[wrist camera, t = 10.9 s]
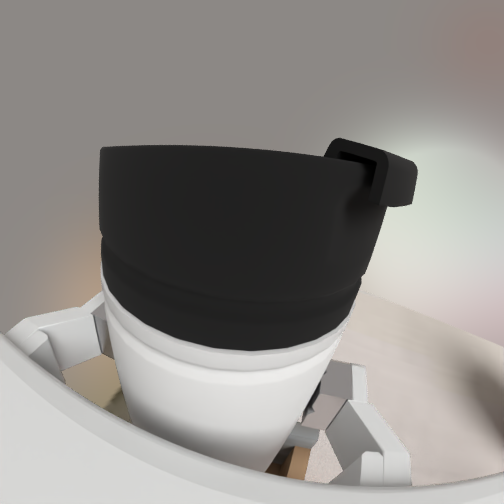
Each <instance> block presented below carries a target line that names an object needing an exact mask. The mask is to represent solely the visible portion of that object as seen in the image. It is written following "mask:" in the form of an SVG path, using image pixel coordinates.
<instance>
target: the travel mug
mask: <svg viewBox="0 0 504 504" xmlns="http://www.w3.org/2000/svg"><path fill="white" fill-rule="evenodd" d="M417 173H418V170H417V166H416V165H415V164H414V162H412V161H410V160H407V159H405V158H402V157H400V156H397V155H395V154H392V153H389V152H386V151H384V150H381V149H378V148H374V147H371V146H367V145H364V144H361V143H357V142H353V141H349V140H346V139H342V138H337V139H335V140H333V141H332V142H331V144H330V145H329V147H328V149H327V151H326V153H325V155H324V157H321V156H314V155H306V154H299V153H290V152H281V151H271V150H260V149H249V148H235V147H218V146H191V145H189V146H188V145H141V146H140V145H139V146H113V147H102V148H101V150H100V167H99V225H100V231H101V233H102V236H103V237H102V241H101V258H102V261H101V282H102V291H103V294H104V300H105V312H106V318H107V324H108V330H109V335H110V340H111V345H112V350H113V355H114V359H115V363H116V368H117V372H118V376H119V380H120V384H121V388H122V391H123V395H124V398H125V402H126V405H127V409H128V412H129V415H130V418H131V421H132V424H133V425H135V426H137V427H139V428H141V429H143V430H145V431H147V432H149V433H151V434H153V435H155V436H158V437H160V438H162V439H164V440H167V441H169V442H171V443H174V444H176V445H179V446H181V447H184V448H186V449H189V450H192V451H194V452H197V453H200V454H203V455H205V456H208V457H211V458H214V459H217V460H220V461H224V462H227V463H230V464H233V465H237V466H240V467H244V468H248V469H252V470H256V471H260V472H264V473H265V471H266V470H267V468H268V467H269V465H270V464H271V462H272V461H273V459H274V458H275V456H276V455H277V453H278V452H279V450H280V449H281V447H282V446H283V444H284V442H285V441H286V439H287V438H288V436H289V434H290V433H291V431H292V429H293V428H294V426H295V424H296V423H297V421H298V419H299V418H300V416H301V414H302V413H303V411H304V409H305V407H306V405H307V404H308V402H309V400H310V398H311V396H312V395H313V393H314V391H315V389H316V387H317V385H318V383H319V382H320V380H321V378H322V376H323V374H324V372H325V370H326V368H327V366H328V364H329V362H330V360H331V358H332V356H333V354H334V352H335V350H336V347H337V345H338V343H339V341H340V339H341V336H342V334H343V332H344V330H345V328H346V326H347V323H348V321H349V319H350V317H351V314H352V312H353V309H354V307H355V298H356V296H357V293H358V291H359V288H360V285H361V277H362V276H363V275H364V274H365V272H366V269H367V267H368V264H369V262H370V259H371V256H372V253H373V250H374V247H375V244H376V241H377V238H378V235H379V232H380V229H381V225H382V222H383V219H384V216H385V212H386V209H387V206H389V207H399V206H406V205H410V204H412V201H413V196H414V191H415V185H416V180H417Z"/></svg>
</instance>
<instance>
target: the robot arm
mask: <svg viewBox="0 0 504 504" xmlns="http://www.w3.org/2000/svg"><path fill="white" fill-rule="evenodd" d="M101 353H102V354H104V355H106V356H108V357H110V358H112V359H114V355H113V350H112V345H111V340H110V335H109V330H108V324H107V318H106V312H105V300H104V294H103V291H101V292H100V293H98V294H97V295H96V296H94V297H93V298H92V299H91V300H89V301H88V302H87V303H86V304H84V305H83V306H82V307H81V308H78V307H73V308H69V309H65V310H60V311H55V312H51V313H46V314H42V315H37V316H32V317H27V318H24V319H23V320H22V321H21V322H19V323H18V324H17V325H16V326H14V327H13V328H12V329H11V330H9V331H8V332H7V333H6V334H4V335H3V334H2V333H1V332H0V504H504V472H501V473H497V474H493V475H489V476H484V477H480V478H475V479H469V480H464V481H458V482H451V483H444V484H435V485H424V486H412V480H411V463H410V453H409V451H408V450H407V449H406V447H405V446H404V445H403V443H402V442H401V441H400V439H399V438H398V437H397V435H396V434H395V433H394V431H393V430H392V429H391V427H390V426H389V425H388V423H387V422H386V421H385V420H384V418H383V417H382V416H381V414H380V413H379V412H378V410H377V409H376V408H375V406H374V405H373V404H372V403H368V389H367V376H366V367H365V366H364V365H358V364H353V363H347V362H342V361H337V360H332V359H331V360H330V362H329V364H328V366H327V368H326V370H325V372H324V374H323V376H322V378H321V380H320V382H319V383H318V385H317V387H316V389H315V391H314V393H313V395H312V396H311V398H310V400H309V402H308V404H307V405H306V407H305V409H304V411H303V416H302V422H301V425H302V426H306V427H311V428H315V429H320V430H325V433H326V435H327V437H328V439H329V441H330V444H331V446H332V448H333V450H334V452H335V454H336V456H337V458H338V461H339V463H340V465H341V467H342V469H343V472H342V473H340V474H339V475H338V476H337V477H336V478H334V479H333V480H332V481H330V482H329V484H327V483H319V482H311V481H305V480H299V479H293V478H287V477H282V476H277V475H273V474H268V473H264V472H260V471H256V470H252V469H248V468H244V467H240V466H237V465H233V464H230V463H227V462H224V461H220V460H217V459H214V458H211V457H208V456H205V455H203V454H200V453H197V452H194V451H192V450H189V449H186V448H184V447H181V446H179V445H176V444H174V443H171V442H169V441H167V440H164V439H162V438H160V437H158V436H155V435H153V434H151V433H149V432H147V431H145V430H143V429H141V428H139V427H137V426H135V425H133V424H131V423H129V422H127V421H125V420H123V419H121V418H119V417H117V416H115V415H114V414H112V413H110V412H108V411H107V410H105V409H103V408H101V407H100V406H98V405H96V404H95V403H93V402H91V401H89V400H88V399H86V398H85V397H83V396H82V395H80V394H79V393H77V392H76V391H74V390H73V389H71V388H70V387H68V386H67V385H65V379H64V377H63V374H62V372H61V371H63V370H65V369H67V368H70V367H72V366H75V365H77V364H79V363H82V362H85V361H87V360H89V359H92V358H94V357H96V356H99V355H101ZM114 360H115V359H114Z"/></svg>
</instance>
